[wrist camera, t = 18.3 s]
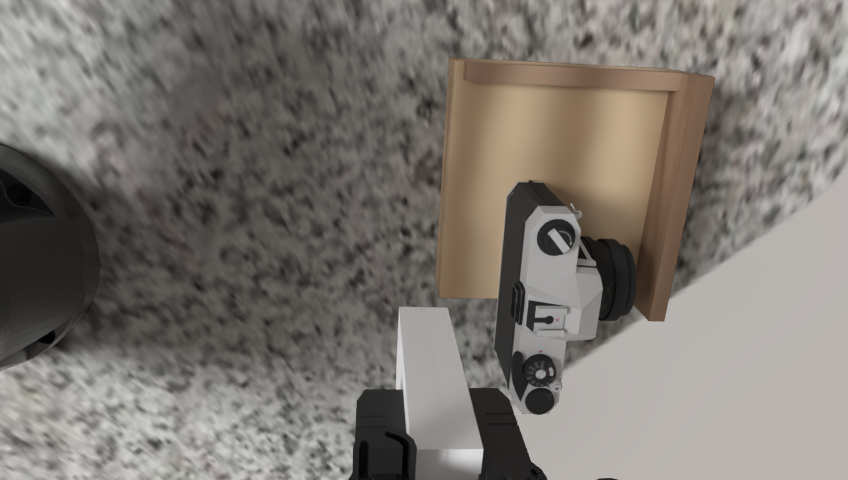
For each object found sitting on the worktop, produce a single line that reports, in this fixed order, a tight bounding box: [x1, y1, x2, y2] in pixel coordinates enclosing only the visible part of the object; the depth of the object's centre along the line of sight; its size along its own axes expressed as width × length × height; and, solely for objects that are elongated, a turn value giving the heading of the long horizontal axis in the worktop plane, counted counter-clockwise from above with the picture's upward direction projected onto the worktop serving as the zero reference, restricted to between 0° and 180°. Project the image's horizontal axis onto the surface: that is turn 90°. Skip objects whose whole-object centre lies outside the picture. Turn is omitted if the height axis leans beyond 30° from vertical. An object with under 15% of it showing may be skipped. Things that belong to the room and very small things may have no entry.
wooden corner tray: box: [435, 58, 715, 321], centre depth 38 cm, size 14×15×6 cm
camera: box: [494, 180, 637, 415], centre depth 36 cm, size 13×8×9 cm, turn 1°
